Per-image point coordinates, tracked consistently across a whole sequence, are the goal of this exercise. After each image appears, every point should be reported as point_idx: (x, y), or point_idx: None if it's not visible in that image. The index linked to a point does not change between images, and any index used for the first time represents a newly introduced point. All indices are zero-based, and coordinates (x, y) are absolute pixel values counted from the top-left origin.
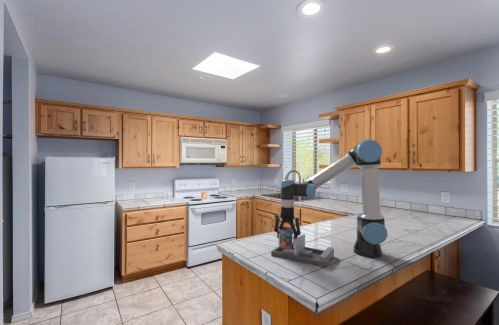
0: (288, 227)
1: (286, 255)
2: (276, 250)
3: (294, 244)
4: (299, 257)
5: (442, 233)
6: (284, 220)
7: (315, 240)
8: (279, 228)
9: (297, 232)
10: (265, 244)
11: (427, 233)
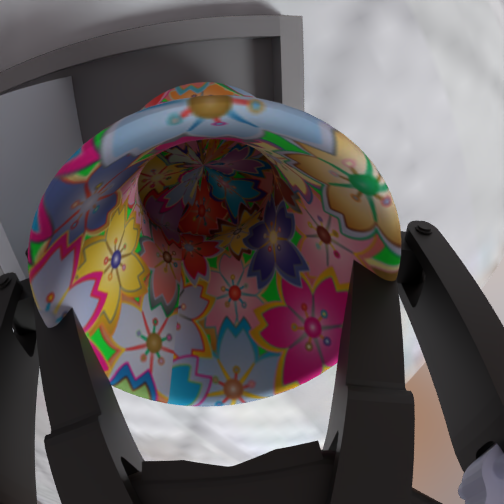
0: (244, 392)
1: (123, 32)
2: (278, 86)
3: (3, 95)
4: (4, 71)
5: (36, 492)
6: (321, 502)
7: (187, 417)
8: (377, 271)
9: (1, 305)
10: (420, 219)
11: (46, 492)
